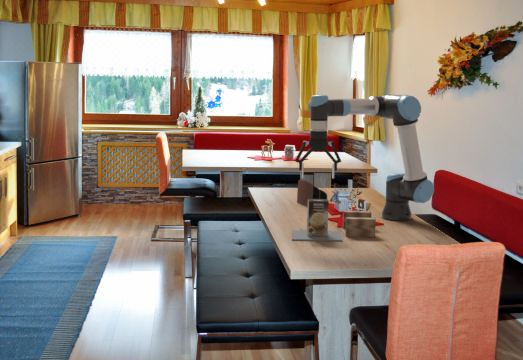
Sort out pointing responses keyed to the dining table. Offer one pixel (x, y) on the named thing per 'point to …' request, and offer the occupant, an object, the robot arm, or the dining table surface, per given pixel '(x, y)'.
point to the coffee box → (317, 217)
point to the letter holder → (308, 192)
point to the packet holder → (359, 223)
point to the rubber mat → (302, 236)
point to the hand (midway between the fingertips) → (317, 178)
